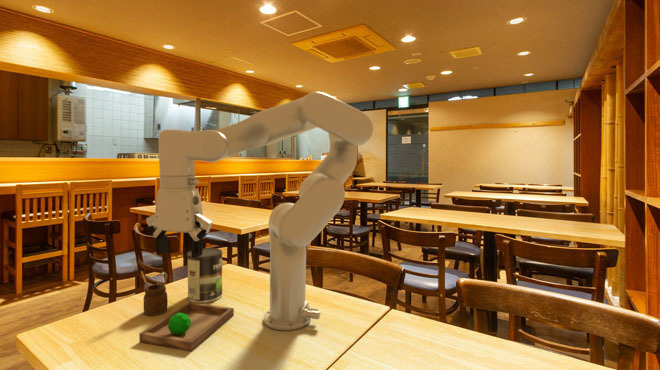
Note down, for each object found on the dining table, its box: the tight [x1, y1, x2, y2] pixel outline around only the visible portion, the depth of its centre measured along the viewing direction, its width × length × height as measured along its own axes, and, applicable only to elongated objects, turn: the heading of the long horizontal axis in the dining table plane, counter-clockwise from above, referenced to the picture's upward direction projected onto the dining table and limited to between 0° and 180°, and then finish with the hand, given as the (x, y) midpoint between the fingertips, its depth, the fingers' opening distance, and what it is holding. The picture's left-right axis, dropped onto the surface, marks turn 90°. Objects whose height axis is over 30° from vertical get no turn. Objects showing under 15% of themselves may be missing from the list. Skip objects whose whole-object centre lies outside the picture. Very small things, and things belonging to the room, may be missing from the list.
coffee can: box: [186, 247, 223, 304], centre depth 104 cm, size 10×10×14 cm
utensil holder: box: [141, 271, 169, 317], centre depth 93 cm, size 6×6×12 cm
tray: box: [138, 301, 235, 352], centre depth 85 cm, size 14×18×2 cm
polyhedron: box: [168, 313, 191, 335], centre depth 81 cm, size 5×5×5 cm
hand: (179, 254), depth 80 cm, fingers open, 9 cm apart
